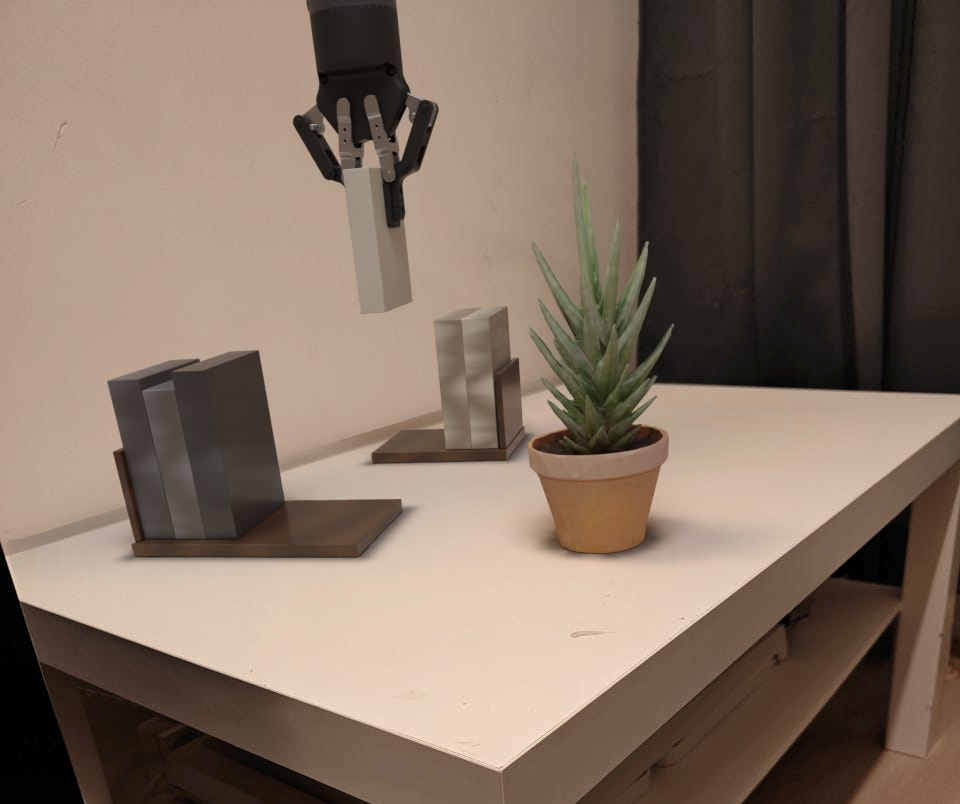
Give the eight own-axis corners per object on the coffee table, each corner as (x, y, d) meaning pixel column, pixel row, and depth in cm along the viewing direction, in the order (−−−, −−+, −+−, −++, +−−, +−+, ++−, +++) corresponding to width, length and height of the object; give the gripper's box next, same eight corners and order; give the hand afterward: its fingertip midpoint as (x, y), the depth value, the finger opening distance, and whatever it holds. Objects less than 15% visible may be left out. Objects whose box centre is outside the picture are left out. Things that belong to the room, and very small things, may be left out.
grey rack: (134, 556, 71) (89, 377, 66) (202, 512, 81) (169, 353, 75) (358, 557, 67) (331, 365, 62) (402, 510, 77) (382, 341, 71)
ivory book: (360, 313, 87) (342, 169, 82) (390, 303, 94) (374, 171, 89) (385, 312, 86) (368, 167, 81) (412, 301, 94) (398, 168, 89)
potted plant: (565, 514, 72) (550, 157, 62) (685, 523, 68) (690, 142, 58) (507, 557, 65) (479, 157, 54) (639, 571, 60) (636, 140, 50)
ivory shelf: (372, 463, 92) (354, 325, 87) (401, 439, 101) (387, 312, 96) (506, 460, 89) (497, 317, 84) (525, 435, 98) (517, 304, 92)
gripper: (442, 5, 82) (459, 221, 89) (295, 26, 85) (323, 233, 92) (418, -10, 75) (439, 224, 82) (260, 13, 78) (293, 236, 86)
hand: (378, 228), depth 87 cm, fingers closed on ivory book, 2 cm apart
